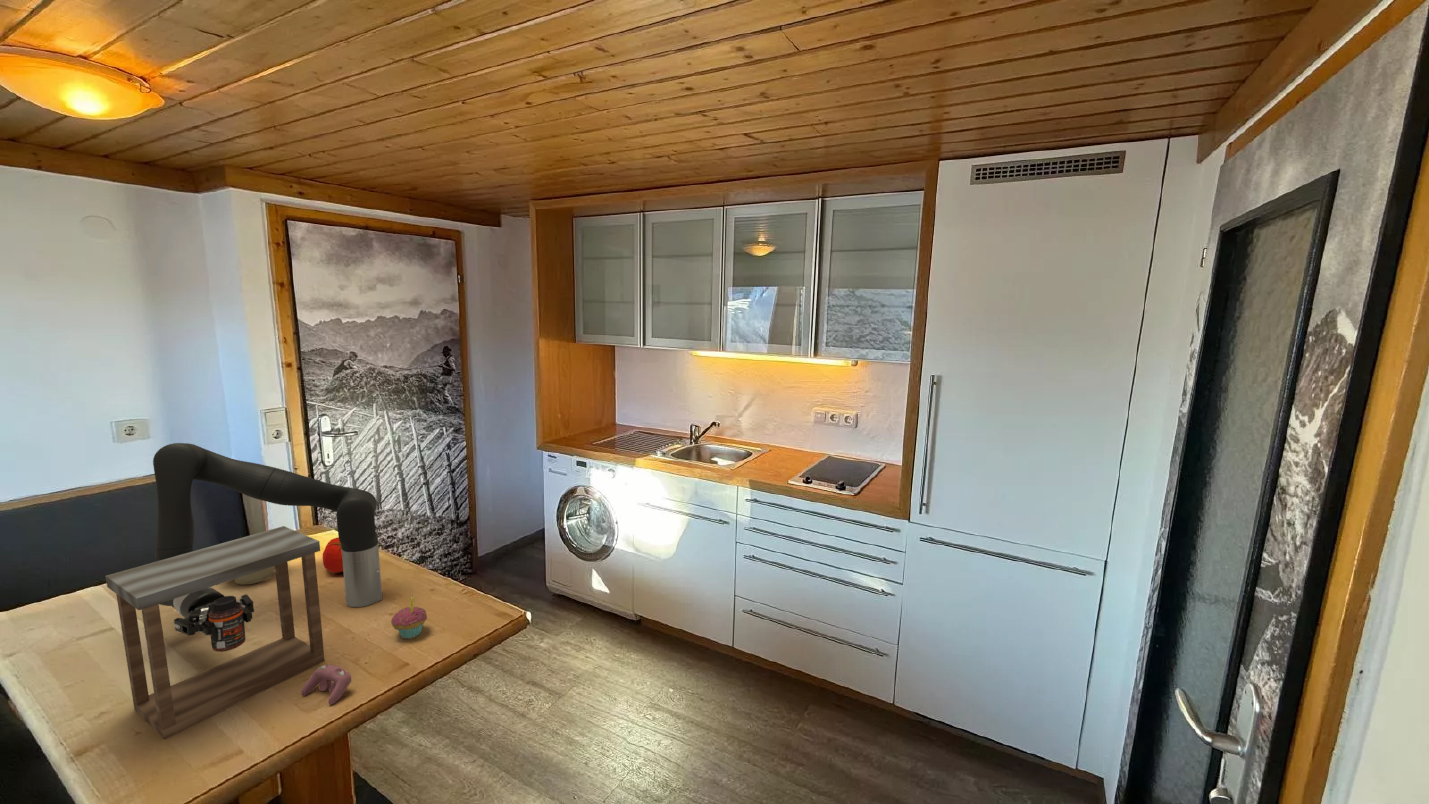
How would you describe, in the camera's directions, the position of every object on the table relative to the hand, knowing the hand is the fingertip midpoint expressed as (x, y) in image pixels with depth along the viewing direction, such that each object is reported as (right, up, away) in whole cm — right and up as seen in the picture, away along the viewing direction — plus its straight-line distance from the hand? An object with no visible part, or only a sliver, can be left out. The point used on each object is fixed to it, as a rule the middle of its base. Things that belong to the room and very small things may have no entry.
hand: (231, 624), depth 128 cm
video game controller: (+21, -17, +1) cm, 27 cm away
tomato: (-13, -6, +60) cm, 62 cm away
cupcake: (+27, -13, +25) cm, 39 cm away
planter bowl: (-37, -6, +52) cm, 65 cm away
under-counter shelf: (-2, -15, +3) cm, 16 cm away
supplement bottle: (-2, -6, +2) cm, 7 cm away
